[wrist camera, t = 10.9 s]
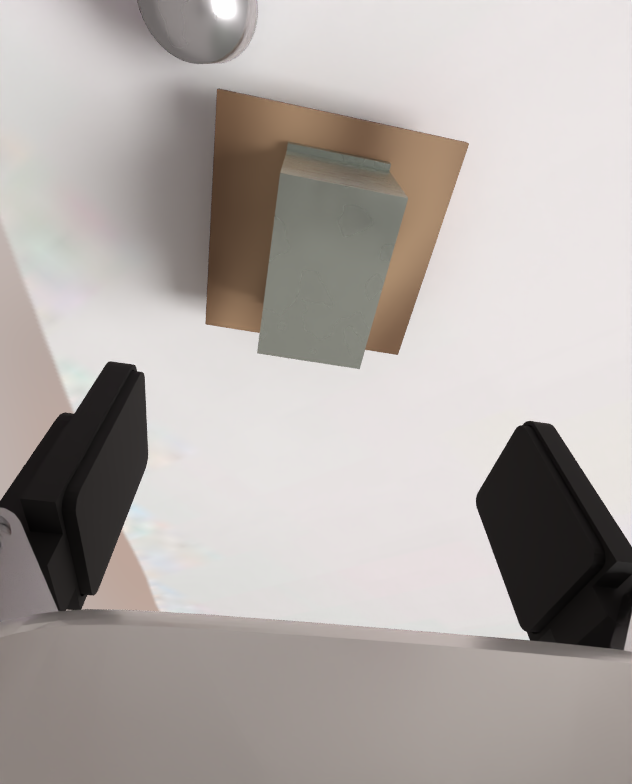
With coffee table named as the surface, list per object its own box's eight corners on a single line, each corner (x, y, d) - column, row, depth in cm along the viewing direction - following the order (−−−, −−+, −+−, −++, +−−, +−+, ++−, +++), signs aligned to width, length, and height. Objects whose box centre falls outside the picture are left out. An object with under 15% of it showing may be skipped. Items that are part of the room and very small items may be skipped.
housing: (288, 141, 22) (281, 164, 17) (389, 162, 22) (410, 190, 18) (266, 304, 27) (256, 358, 22) (349, 318, 27) (357, 373, 23)
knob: (162, 52, 22) (136, 50, 19) (161, -73, 20) (131, -99, 17) (252, 72, 23) (242, 74, 20) (262, -47, 20) (253, -67, 17)
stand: (214, 302, 30) (205, 324, 28) (227, 86, 23) (217, 89, 21) (391, 332, 31) (397, 354, 29) (453, 135, 24) (469, 143, 22)
